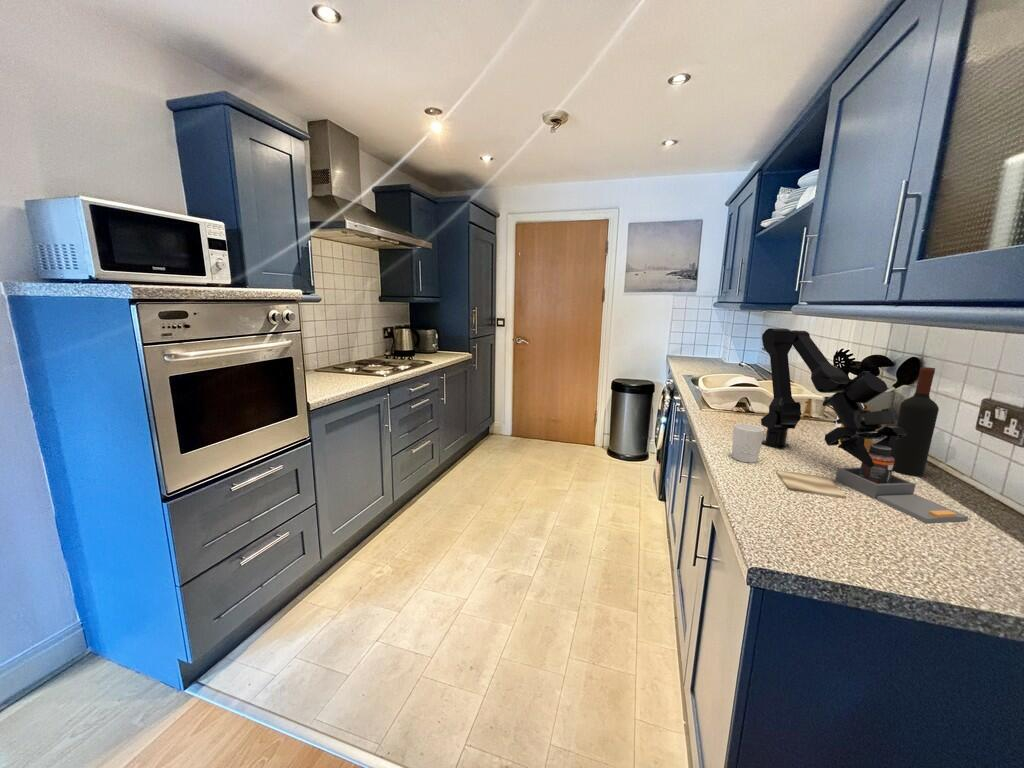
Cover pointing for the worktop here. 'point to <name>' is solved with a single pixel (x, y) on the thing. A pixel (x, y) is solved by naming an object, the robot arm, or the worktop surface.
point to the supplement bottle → (878, 465)
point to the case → (899, 497)
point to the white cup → (747, 442)
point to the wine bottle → (916, 427)
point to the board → (810, 484)
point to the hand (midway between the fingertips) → (883, 466)
